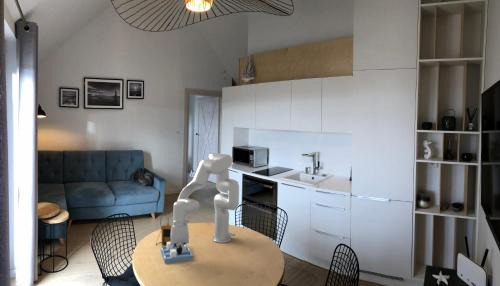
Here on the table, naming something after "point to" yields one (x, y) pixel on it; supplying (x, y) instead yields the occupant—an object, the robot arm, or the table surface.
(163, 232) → the multimeter
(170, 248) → the white block
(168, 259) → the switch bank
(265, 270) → the table surface
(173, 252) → the white square block
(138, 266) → the table surface
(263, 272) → the table surface
